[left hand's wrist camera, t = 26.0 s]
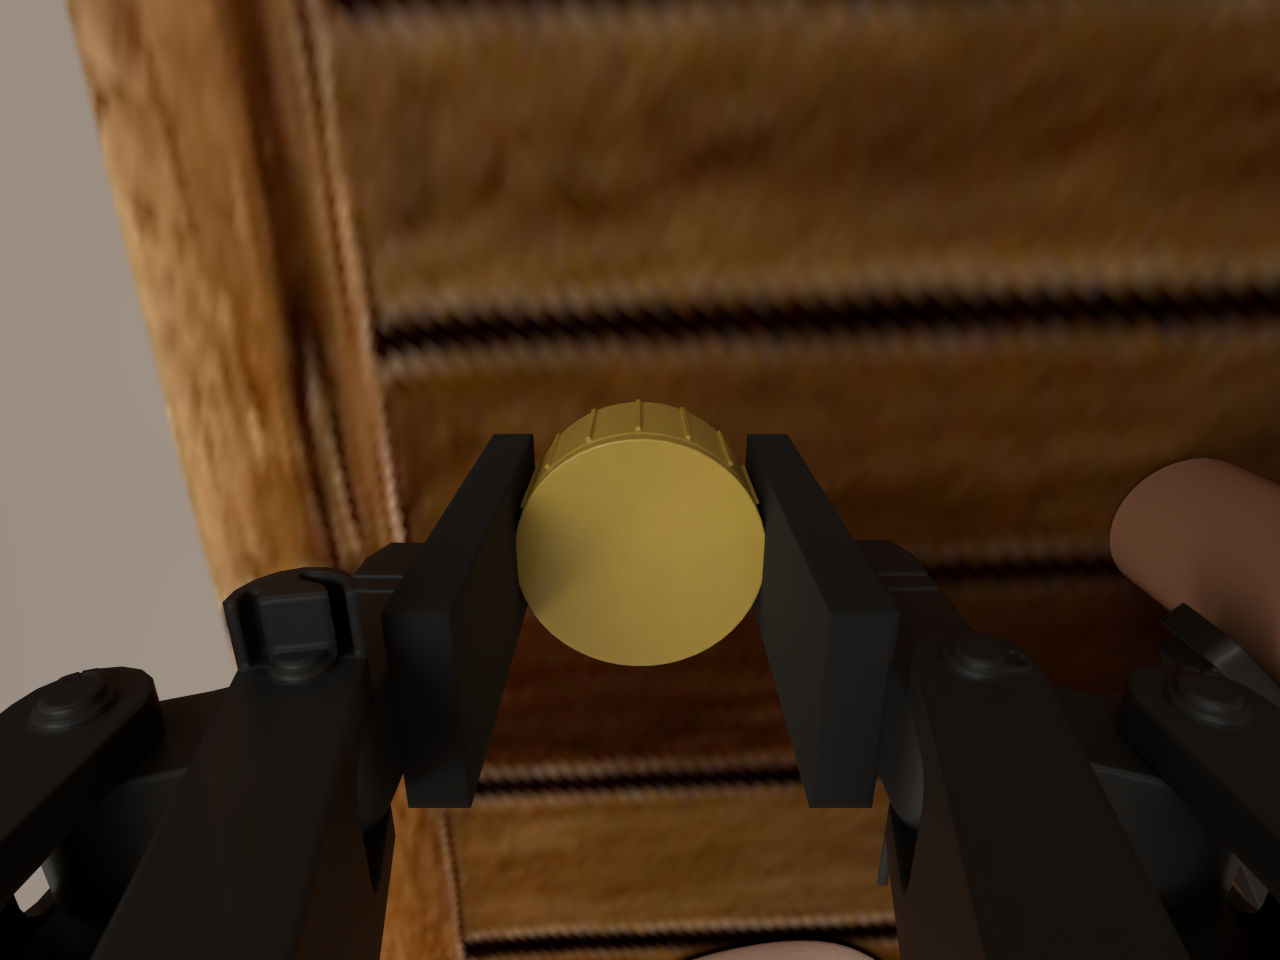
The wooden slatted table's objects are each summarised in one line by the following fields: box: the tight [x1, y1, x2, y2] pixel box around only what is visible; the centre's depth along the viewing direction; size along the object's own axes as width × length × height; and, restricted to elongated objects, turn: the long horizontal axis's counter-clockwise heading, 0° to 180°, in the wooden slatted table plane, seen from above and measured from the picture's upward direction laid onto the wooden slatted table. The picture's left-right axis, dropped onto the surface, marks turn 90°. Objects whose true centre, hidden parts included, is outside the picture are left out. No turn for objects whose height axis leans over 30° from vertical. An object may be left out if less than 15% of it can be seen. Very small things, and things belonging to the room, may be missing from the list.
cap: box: [516, 400, 765, 666], centre depth 13 cm, size 4×4×2 cm
